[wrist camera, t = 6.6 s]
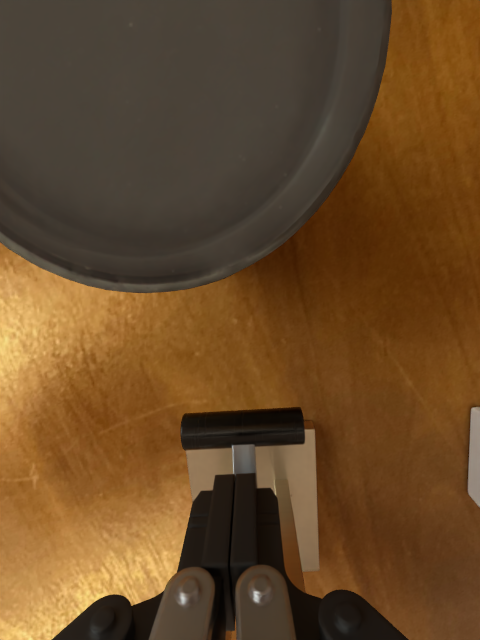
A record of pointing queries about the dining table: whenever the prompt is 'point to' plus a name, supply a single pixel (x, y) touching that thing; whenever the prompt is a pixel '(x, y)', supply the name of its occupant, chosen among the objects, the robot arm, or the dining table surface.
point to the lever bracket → (289, 487)
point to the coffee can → (177, 130)
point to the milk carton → (474, 456)
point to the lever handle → (243, 432)
